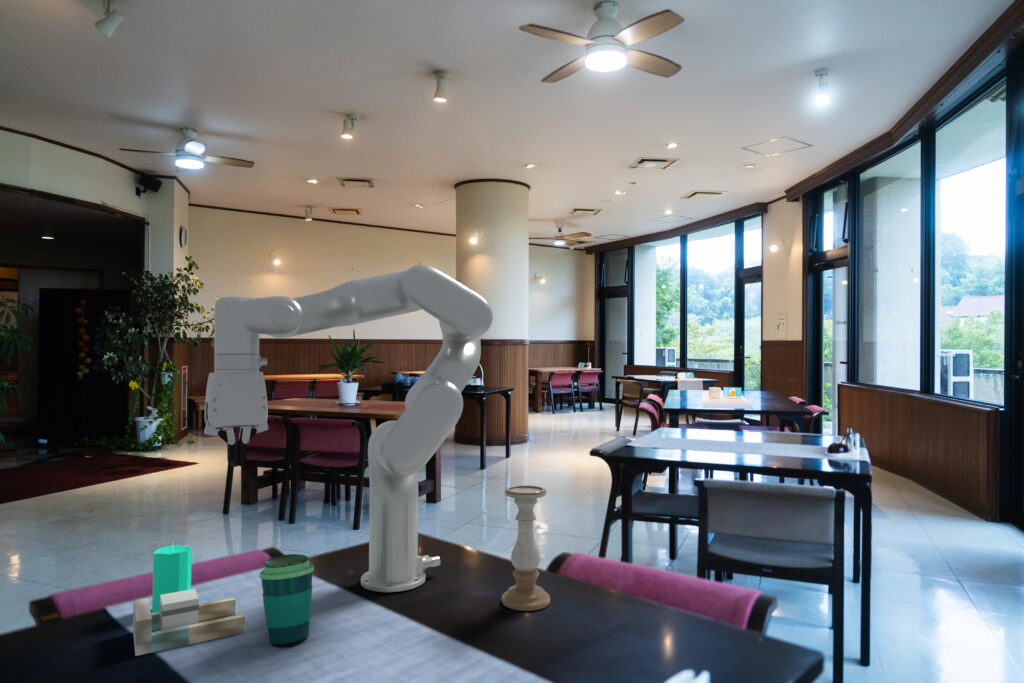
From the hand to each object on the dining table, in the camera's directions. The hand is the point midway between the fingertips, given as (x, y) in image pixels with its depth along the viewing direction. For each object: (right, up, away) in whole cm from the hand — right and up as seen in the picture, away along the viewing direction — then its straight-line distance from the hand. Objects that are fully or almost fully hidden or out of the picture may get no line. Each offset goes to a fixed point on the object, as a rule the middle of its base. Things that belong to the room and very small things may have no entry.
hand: (237, 465), depth 114 cm
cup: (+14, -24, -15) cm, 32 cm away
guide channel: (-1, -24, -13) cm, 27 cm away
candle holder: (+52, -25, -1) cm, 58 cm away
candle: (-10, -25, -4) cm, 27 cm away
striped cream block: (-3, -24, -14) cm, 28 cm away
